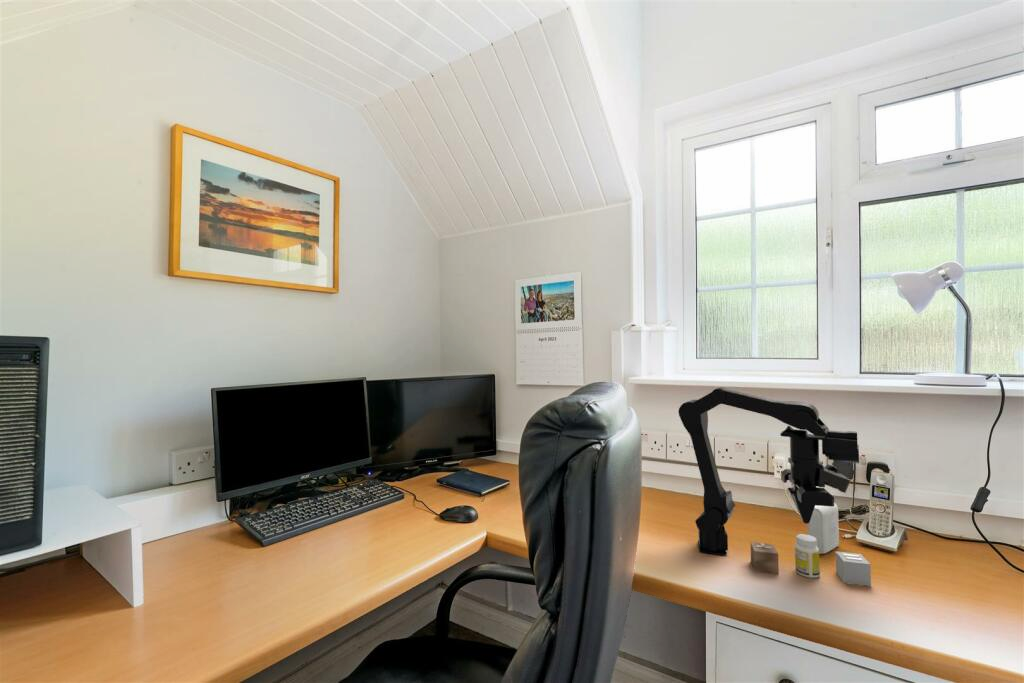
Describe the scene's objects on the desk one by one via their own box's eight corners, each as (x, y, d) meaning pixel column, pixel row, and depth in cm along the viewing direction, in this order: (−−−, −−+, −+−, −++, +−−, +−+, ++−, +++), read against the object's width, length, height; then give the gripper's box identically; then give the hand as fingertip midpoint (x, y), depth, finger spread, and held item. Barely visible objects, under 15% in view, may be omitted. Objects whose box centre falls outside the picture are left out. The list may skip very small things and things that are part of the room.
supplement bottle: (816, 569, 106) (815, 534, 106) (822, 579, 102) (821, 543, 102) (793, 567, 108) (792, 532, 108) (798, 576, 103) (797, 540, 103)
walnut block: (754, 571, 106) (754, 550, 106) (750, 561, 111) (750, 541, 111) (778, 574, 104) (778, 552, 104) (773, 564, 109) (773, 543, 109)
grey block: (844, 583, 100) (843, 560, 100) (836, 572, 105) (835, 550, 105) (871, 586, 99) (870, 563, 99) (861, 575, 103) (860, 553, 103)
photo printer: (823, 539, 122) (822, 494, 122) (841, 545, 118) (840, 499, 118) (805, 550, 116) (804, 502, 116) (824, 556, 113) (823, 507, 113)
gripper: (862, 469, 93) (864, 544, 93) (830, 449, 111) (832, 511, 111) (801, 466, 97) (802, 537, 97) (779, 447, 115) (781, 507, 115)
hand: (806, 522), depth 105 cm, fingers closed
